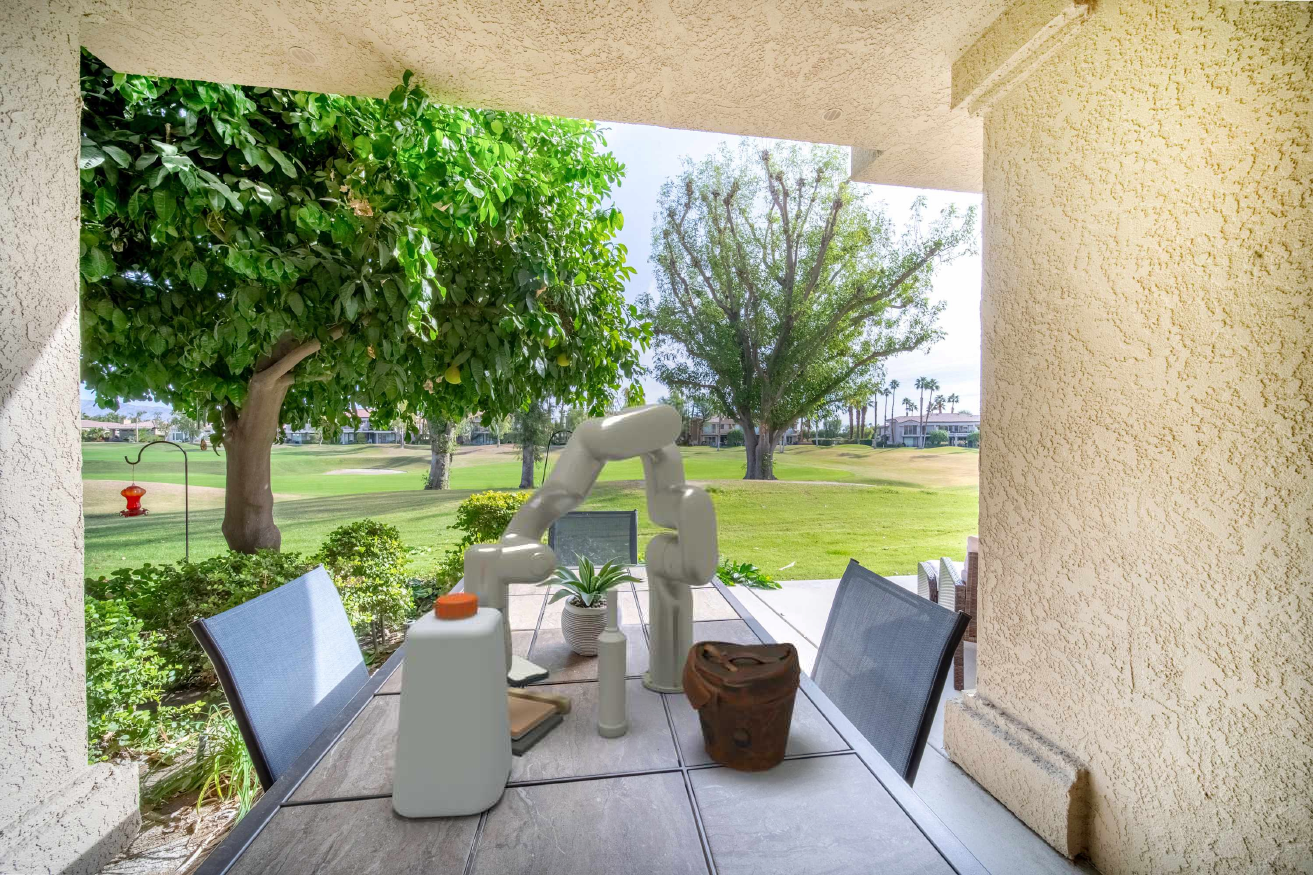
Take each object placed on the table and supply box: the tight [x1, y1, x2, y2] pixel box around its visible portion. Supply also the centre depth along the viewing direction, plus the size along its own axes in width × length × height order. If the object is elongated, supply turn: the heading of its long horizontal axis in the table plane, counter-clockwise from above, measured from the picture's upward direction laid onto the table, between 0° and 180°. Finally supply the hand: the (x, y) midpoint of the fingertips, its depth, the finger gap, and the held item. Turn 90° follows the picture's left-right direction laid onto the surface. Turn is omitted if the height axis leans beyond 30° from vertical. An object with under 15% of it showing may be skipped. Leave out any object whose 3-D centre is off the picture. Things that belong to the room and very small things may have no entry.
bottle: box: [596, 587, 628, 739], centre depth 101 cm, size 5×5×25 cm
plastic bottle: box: [391, 592, 513, 819], centre depth 84 cm, size 15×15×28 cm
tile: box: [508, 696, 556, 739], centre depth 103 cm, size 1×14×12 cm
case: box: [682, 640, 802, 772], centre depth 94 cm, size 18×20×18 cm
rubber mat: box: [511, 714, 564, 757], centre depth 102 cm, size 18×13×1 cm
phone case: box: [507, 654, 550, 688], centre depth 128 cm, size 9×2×16 cm
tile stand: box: [507, 685, 572, 715], centre depth 111 cm, size 16×3×2 cm, turn 68°
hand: (486, 722), depth 98 cm, fingers closed
